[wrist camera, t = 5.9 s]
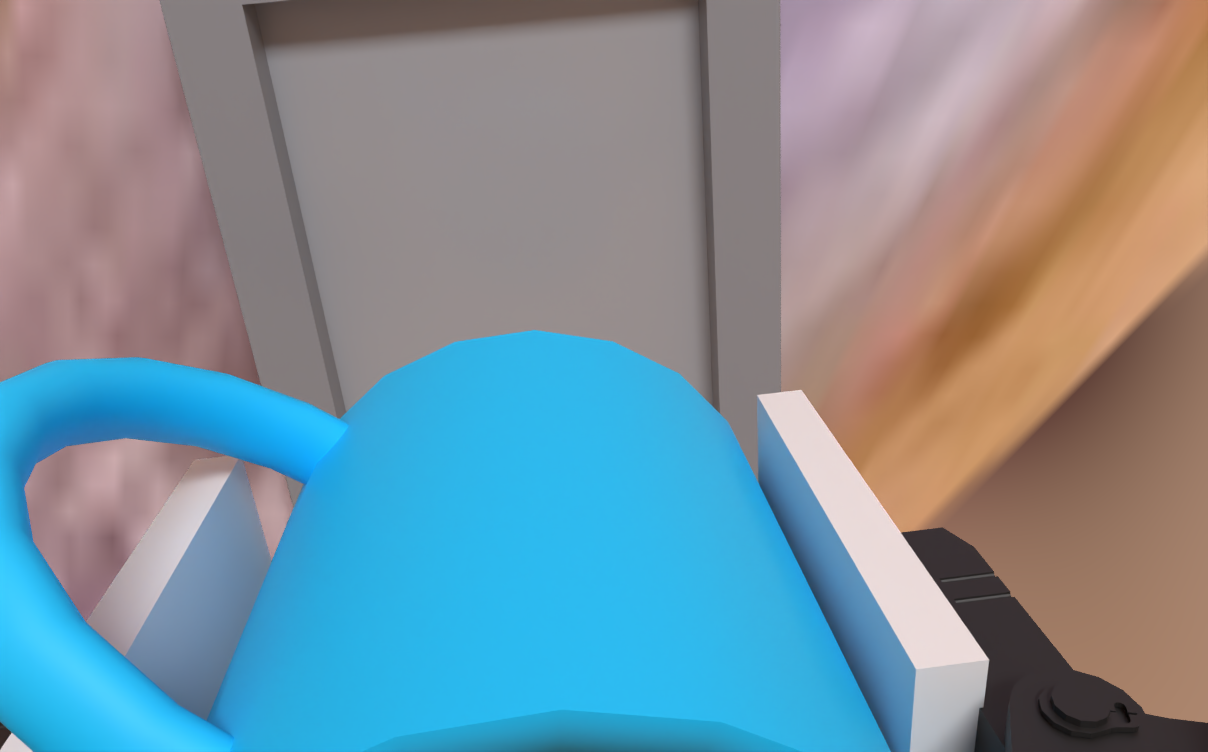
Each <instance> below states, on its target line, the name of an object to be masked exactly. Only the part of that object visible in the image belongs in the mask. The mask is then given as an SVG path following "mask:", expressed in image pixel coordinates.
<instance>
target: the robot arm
mask: <svg viewBox="0 0 1208 752" xmlns="http://www.w3.org/2000/svg"><path fill="white" fill-rule="evenodd" d="M757 430H758V483H759V485H760V487H761V489H762V491H763V493H764V495H765V497H766V499H767V501H768V504H769V506H770V508H771V510H772V512H773V514H774V516H775V518H776V520H777V522H778V524H779V526H780V528H781V530H782V532H783V534H784V536H785V538H786V540H787V542H788V544H789V546H790V548H791V550H792V552H793V554H794V556H795V558H796V560H797V562H798V564H799V566H800V568H801V570H802V572H803V574H804V576H805V578H806V580H807V583H808V585H809V587H810V589H811V591H812V593H813V595H814V597H815V599H816V601H817V603H818V605H819V607H820V609H821V611H822V613H823V615H824V617H825V619H826V621H827V623H828V625H829V627H830V629H831V631H832V633H833V635H834V637H835V639H836V641H837V643H838V645H839V647H840V649H841V651H842V653H843V655H844V657H845V659H846V662H847V664H848V666H849V668H850V670H851V672H852V674H853V676H854V678H855V680H856V682H857V684H858V686H859V688H860V690H861V692H862V694H863V696H864V698H865V700H866V702H867V704H868V706H869V708H870V710H871V712H872V714H873V716H874V718H875V720H876V722H877V724H878V726H879V728H880V730H881V732H882V734H883V736H884V739H885V741H886V743H887V745H888V747H889V749H890V751H891V752H1208V723H1203V722H1194V721H1186V720H1178V719H1169V718H1164V717H1159V716H1153V715H1149V714H1145V713H1144V711H1143V709H1142V707H1141V706H1139V705H1138V704H1137V703H1136V702H1135V701H1134V700H1133V699H1132V698H1131V697H1130V696H1129V695H1127V694H1126V693H1125V692H1124V691H1123V690H1121V689H1120V688H1118V687H1116V686H1114V685H1112V684H1110V683H1108V682H1107V681H1104V680H1103V679H1101V678H1099V677H1096V676H1092V675H1089V674H1085V673H1082V672H1078V671H1075V670H1073V669H1072V668H1071V667H1070V665H1069V664H1068V663H1067V662H1066V660H1065V659H1064V658H1063V657H1062V655H1061V654H1060V653H1059V652H1058V650H1057V649H1056V648H1055V647H1054V646H1053V644H1052V643H1051V642H1050V641H1049V639H1048V638H1047V637H1046V636H1045V634H1044V633H1043V632H1042V631H1041V629H1040V628H1039V627H1038V626H1037V624H1036V623H1035V622H1034V621H1033V619H1032V618H1031V617H1030V616H1029V615H1028V613H1027V612H1026V611H1025V610H1024V608H1023V607H1022V606H1021V605H1020V603H1019V602H1018V601H1017V600H1016V598H1015V597H1011V595H1010V591H1009V590H1008V588H1007V587H1006V586H1005V585H1004V584H1003V582H1002V581H1001V580H1000V579H999V577H995V576H994V571H993V570H992V569H991V568H990V566H989V565H988V564H987V563H986V562H985V560H984V559H983V558H982V556H981V555H980V554H979V553H978V551H977V550H976V549H975V548H974V547H973V546H972V545H970V544H968V543H967V542H965V541H963V540H962V539H960V538H959V537H957V536H955V535H954V534H952V533H950V532H949V531H947V530H946V529H944V528H935V529H927V530H919V531H911V532H903V533H901V532H900V531H899V530H898V528H897V527H896V525H895V524H894V522H893V521H892V519H891V518H890V517H889V515H888V514H887V512H886V511H885V509H884V508H883V507H882V505H881V504H880V502H879V501H878V499H877V498H876V496H875V495H874V494H873V492H872V491H871V489H870V488H869V486H868V485H867V484H866V482H865V481H864V479H863V478H862V476H861V475H860V473H859V472H858V471H857V469H856V468H855V466H854V465H853V463H852V462H851V461H850V459H849V458H848V456H847V455H846V453H845V452H844V450H843V449H842V448H841V446H840V445H839V443H838V442H837V440H836V439H835V438H834V436H833V435H832V433H831V432H830V430H829V429H828V427H827V426H826V425H825V423H824V422H823V420H822V419H821V417H820V416H819V415H818V413H817V412H816V410H815V409H814V407H813V406H812V404H811V403H810V402H809V400H808V399H807V397H806V396H805V394H804V393H803V392H802V390H796V391H787V392H779V393H770V394H761V395H757ZM271 562H272V561H271V557H270V554H269V550H268V547H267V543H266V540H265V536H264V533H263V529H262V526H261V522H260V519H259V515H258V512H257V508H256V505H255V501H254V498H253V494H252V491H251V487H250V484H249V480H248V477H247V473H246V470H245V466H244V463H243V460H241V459H237V458H234V457H231V456H225V457H216V458H207V459H199V460H194V461H193V462H192V464H191V465H190V467H189V468H188V470H187V471H186V473H185V474H184V476H183V477H182V479H181V480H180V482H179V483H178V485H177V486H176V488H175V489H174V491H173V492H172V494H171V495H170V497H169V498H168V500H167V501H166V503H165V504H164V506H163V507H162V509H161V510H160V512H159V513H158V515H157V516H156V518H155V519H154V521H153V522H152V524H151V525H150V527H149V528H148V530H147V531H146V533H145V534H144V536H143V537H142V539H141V540H140V542H139V543H138V545H137V546H136V548H135V549H134V551H133V552H132V554H131V555H130V557H129V558H128V560H127V561H126V563H125V564H124V566H123V567H122V569H121V570H120V572H119V573H118V575H117V576H116V578H115V579H114V581H113V582H112V583H111V585H110V586H109V588H108V589H107V591H106V592H105V594H104V595H103V597H102V598H101V600H100V601H99V603H98V604H97V606H96V607H95V609H94V610H93V612H92V613H91V615H90V616H89V618H88V619H87V621H86V623H87V624H89V625H90V626H91V627H92V628H93V629H94V630H95V631H96V632H98V633H99V634H100V635H101V636H102V637H103V638H104V639H105V640H107V641H108V642H109V643H110V644H111V645H112V646H113V647H114V648H116V649H117V650H118V651H119V652H120V653H121V654H122V655H123V656H125V657H126V658H127V659H128V660H129V661H130V662H131V663H132V664H133V665H135V666H136V667H137V668H138V669H139V670H140V671H141V672H142V673H144V674H145V675H146V676H147V677H148V678H149V679H150V680H151V681H153V682H154V683H155V684H156V685H157V686H158V687H159V688H160V689H162V690H163V691H164V692H165V693H166V694H167V695H168V696H169V697H171V698H172V699H173V700H174V701H175V702H176V703H177V704H178V705H180V706H182V707H183V708H185V709H187V710H189V711H190V712H192V713H194V714H196V715H197V716H199V717H201V718H203V719H204V720H207V718H208V716H209V713H210V711H211V708H212V706H213V703H214V701H215V698H216V696H217V694H218V691H219V689H220V686H221V684H222V681H223V679H224V677H225V674H226V672H227V669H228V667H229V664H230V662H231V659H232V657H233V655H234V652H235V650H236V647H237V645H238V642H239V640H240V638H241V635H242V633H243V630H244V628H245V625H246V623H247V620H248V618H249V616H250V613H251V611H252V608H253V606H254V603H255V601H256V598H257V596H258V594H259V591H260V589H261V586H262V584H263V581H264V579H265V577H266V574H267V572H268V569H269V567H270V564H271ZM0 752H33V751H32V750H31V749H30V748H28V747H27V746H26V745H25V744H24V743H23V742H22V741H21V740H20V739H18V738H17V737H16V736H15V735H14V734H13V733H12V732H11V731H10V730H8V729H7V728H6V727H5V726H4V725H3V724H2V723H1V722H0Z"/></svg>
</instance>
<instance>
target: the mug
mask: <svg viewBox="0 0 1208 752" xmlns="http://www.w3.org/2000/svg"><path fill="white" fill-rule="evenodd" d="M123 438H129V439H138V440H147V441H156V442H164V443H173V444H182V445H191V446H197V447H201V448H204V449H207V450H211V451H214V452H217V453H221V454H224V455H227V456H231V457H234V458H237V459H241V460H244V461H247V462H251V463H254V464H257V465H261V466H264V467H267V468H271V469H273V470H275V471H277V472H279V473H281V474H283V475H286V476H288V477H290V478H292V479H294V480H296V481H298V482H300V483H303V486H302V489H301V491H300V494H299V496H298V498H297V501H296V503H295V506H294V508H293V511H292V513H291V516H290V518H289V520H288V523H287V525H286V528H285V530H284V533H283V535H282V537H281V540H280V542H279V545H278V547H277V550H276V552H275V555H274V557H273V559H272V562H271V564H270V567H269V569H268V572H267V574H266V577H265V579H264V581H263V584H262V586H261V589H260V591H259V594H258V596H257V598H256V601H255V603H254V606H253V608H252V611H251V613H250V616H249V618H248V620H247V623H246V625H245V628H244V630H243V633H242V635H241V638H240V640H239V642H238V645H237V647H236V650H235V652H234V655H233V657H232V659H231V662H230V664H229V667H228V669H227V672H226V674H225V677H224V679H223V681H222V684H221V686H220V689H219V691H218V694H217V696H216V698H215V701H214V703H213V706H212V708H211V711H210V713H209V716H208V718H207V720H204V719H203V718H201V717H199V716H197V715H196V714H194V713H192V712H190V711H189V710H187V709H185V708H183V707H182V706H180V705H178V704H177V703H176V702H175V701H174V700H173V699H172V698H171V697H169V696H168V695H167V694H166V693H165V692H164V691H163V690H162V689H160V688H159V687H158V686H157V685H156V684H155V683H154V682H153V681H151V680H150V679H149V678H148V677H147V676H146V675H145V674H144V673H142V672H141V671H140V670H139V669H138V668H137V667H136V666H135V665H133V664H132V663H131V662H130V661H129V660H128V659H127V658H126V657H125V656H123V655H122V654H121V653H120V652H119V651H118V650H117V649H116V648H114V647H113V646H112V645H111V644H110V643H109V642H108V641H107V640H105V639H104V638H103V637H102V636H101V635H100V634H99V633H98V632H96V631H95V630H94V629H93V628H92V627H91V626H90V625H89V624H87V623H86V622H85V620H84V619H83V617H82V616H81V614H80V613H79V611H78V609H77V608H76V606H75V605H74V603H73V602H72V600H71V599H70V597H69V596H68V594H67V593H66V591H65V590H64V588H63V587H62V585H61V583H60V582H59V580H58V579H57V577H56V576H55V574H54V573H53V571H52V570H51V568H50V567H49V565H48V564H47V562H46V560H45V559H44V557H43V556H42V554H41V553H40V551H39V550H38V548H37V547H36V545H35V544H34V542H33V537H32V531H31V525H30V519H29V514H28V508H27V502H26V496H25V491H24V487H25V485H26V483H27V481H28V479H29V476H30V474H31V472H32V470H33V468H34V466H35V464H36V463H38V462H40V461H41V460H43V459H45V458H47V457H48V456H50V455H52V454H54V453H55V452H57V451H59V450H61V449H62V448H64V447H66V446H72V445H79V444H86V443H94V442H101V441H109V440H116V439H123ZM0 722H1V723H2V724H3V725H4V726H5V727H6V728H7V729H8V730H10V731H11V732H12V733H13V734H14V735H15V736H16V737H17V738H18V739H20V740H21V741H22V742H23V743H24V744H25V745H26V746H27V747H28V748H30V749H31V750H32V751H33V752H891V751H890V749H889V747H888V745H887V743H886V741H885V739H884V736H883V734H882V732H881V730H880V728H879V726H878V724H877V722H876V720H875V718H874V716H873V714H872V712H871V710H870V708H869V706H868V704H867V702H866V700H865V698H864V696H863V694H862V692H861V690H860V688H859V686H858V684H857V682H856V680H855V678H854V676H853V674H852V672H851V670H850V668H849V666H848V664H847V662H846V659H845V657H844V655H843V653H842V651H841V649H840V647H839V645H838V643H837V641H836V639H835V637H834V635H833V633H832V631H831V629H830V627H829V625H828V623H827V621H826V619H825V617H824V615H823V613H822V611H821V609H820V607H819V605H818V603H817V601H816V599H815V597H814V595H813V593H812V591H811V589H810V587H809V585H808V583H807V580H806V578H805V576H804V574H803V572H802V570H801V568H800V566H799V564H798V562H797V560H796V558H795V556H794V554H793V552H792V550H791V548H790V546H789V544H788V542H787V540H786V538H785V536H784V534H783V532H782V530H781V528H780V526H779V524H778V522H777V520H776V518H775V516H774V514H773V512H772V510H771V508H770V506H769V504H768V501H767V499H766V497H765V495H764V493H763V491H762V489H761V487H760V485H759V483H758V481H757V479H756V477H755V475H754V473H753V471H752V469H751V467H750V465H749V463H748V461H747V459H746V457H745V455H744V453H743V451H742V449H741V447H740V445H739V443H738V441H737V439H736V437H735V435H734V433H733V431H732V429H731V427H730V425H729V422H728V421H727V420H726V419H725V418H724V417H723V416H722V415H721V414H720V413H719V412H718V411H717V410H716V409H715V408H714V407H713V406H712V405H711V404H710V403H709V402H708V401H707V400H706V399H705V398H704V397H703V396H702V395H701V394H700V393H699V392H698V391H697V390H696V389H695V388H694V387H693V386H692V385H691V384H689V383H688V382H687V381H686V380H685V379H684V378H683V377H682V376H681V375H680V374H679V373H677V372H675V371H673V370H671V369H669V368H667V367H665V366H663V365H661V364H658V363H656V362H654V361H652V360H650V359H648V358H646V357H644V356H642V355H640V354H638V353H636V352H634V351H632V350H630V349H628V348H625V347H623V346H621V345H619V344H617V343H615V342H613V341H607V340H600V339H593V338H586V337H579V336H573V335H566V334H559V333H552V332H545V331H539V330H531V331H524V332H517V333H511V334H504V335H497V336H491V337H484V338H477V339H470V340H464V341H457V342H454V343H452V344H449V345H447V346H445V347H443V348H441V349H439V350H437V351H435V352H433V353H431V354H429V355H426V356H424V357H422V358H420V359H418V360H416V361H414V362H412V363H410V364H408V365H406V366H403V367H401V368H399V369H397V370H395V371H393V372H391V373H389V374H387V375H385V376H384V377H382V378H381V379H380V380H379V381H378V382H377V383H376V384H375V385H374V386H373V387H372V388H371V389H370V390H369V391H368V392H367V393H366V394H365V395H364V396H363V397H362V398H361V399H360V400H359V401H358V402H357V403H356V404H354V405H353V406H352V407H351V408H350V409H349V410H348V411H347V412H346V413H345V414H344V415H343V416H342V417H341V418H340V419H339V418H337V417H335V416H333V415H331V414H329V413H327V412H325V411H323V410H321V409H319V408H317V407H315V406H313V405H311V404H309V403H307V402H304V401H301V400H299V399H296V398H293V397H290V396H288V395H285V394H282V393H279V392H276V391H274V390H271V389H268V388H265V387H263V386H260V385H257V384H254V383H251V382H249V381H246V380H243V379H240V378H238V377H235V376H232V375H229V374H226V373H220V372H215V371H210V370H204V369H199V368H194V367H189V366H183V365H178V364H173V363H168V362H162V361H157V360H152V359H147V358H139V357H131V358H102V359H74V360H56V361H52V362H48V363H45V364H43V365H40V366H38V367H35V368H33V369H31V370H28V371H26V372H24V373H21V374H19V375H16V376H14V377H12V378H9V379H7V380H5V381H2V382H0Z"/></svg>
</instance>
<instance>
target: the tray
mask: <svg viewBox="0 0 1208 752" xmlns="http://www.w3.org/2000/svg"><path fill="white" fill-rule="evenodd" d="M160 4H161V8H162V12H163V15H164V19H165V23H166V27H167V31H168V34H169V38H170V42H171V46H172V50H173V53H174V57H175V61H176V65H177V68H178V72H179V76H180V80H181V84H182V87H183V91H184V95H185V99H186V103H187V106H188V110H189V114H190V118H191V121H192V125H193V129H194V133H195V137H196V140H197V144H198V148H199V152H200V156H201V159H202V163H203V167H204V171H205V174H206V178H207V182H208V186H209V190H210V193H211V197H212V201H213V205H214V208H215V212H216V216H217V220H218V224H219V227H220V231H221V235H222V239H223V243H224V246H225V250H226V254H227V258H228V261H229V265H230V269H231V273H232V277H233V280H234V284H235V288H236V292H237V296H238V299H239V303H240V307H241V311H242V314H243V318H244V322H245V326H246V330H247V333H248V337H249V341H250V345H251V349H252V352H253V356H254V360H255V364H256V367H257V371H258V375H259V379H260V383H261V386H263V387H265V388H268V389H271V390H274V391H276V392H279V393H282V394H285V395H288V396H290V397H293V398H296V399H299V400H301V401H304V402H307V403H309V404H311V405H313V406H315V407H317V408H319V409H321V410H323V411H325V412H327V413H329V414H331V415H333V416H335V417H337V418H339V419H340V418H341V417H342V416H343V415H344V414H345V413H346V412H347V411H348V410H349V409H350V408H351V407H352V406H353V405H354V404H356V403H357V402H358V401H359V400H360V399H361V398H362V397H363V396H364V395H365V394H366V393H367V392H368V391H369V390H370V389H371V388H372V387H373V386H374V385H375V384H376V383H377V382H378V381H379V380H380V379H381V378H382V377H384V376H385V375H387V374H389V373H391V372H393V371H395V370H397V369H399V368H401V367H403V366H406V365H408V364H410V363H412V362H414V361H416V360H418V359H420V358H422V357H424V356H426V355H429V354H431V353H433V352H435V351H437V350H439V349H441V348H443V347H445V346H447V345H449V344H452V343H454V342H457V341H464V340H470V339H477V338H484V337H491V336H497V335H504V334H511V333H517V332H524V331H531V330H539V331H545V332H552V333H559V334H566V335H573V336H579V337H586V338H593V339H600V340H607V341H613V342H615V343H617V344H619V345H621V346H623V347H625V348H628V349H630V350H632V351H634V352H636V353H638V354H640V355H642V356H644V357H646V358H648V359H650V360H652V361H654V362H656V363H658V364H661V365H663V366H665V367H667V368H669V369H671V370H673V371H675V372H677V373H679V374H680V375H681V376H682V377H683V378H684V379H685V380H686V381H687V382H688V383H689V384H691V385H692V386H693V387H694V388H695V389H696V390H697V391H698V392H699V393H700V394H701V395H702V396H703V397H704V398H705V399H706V400H707V401H708V402H709V403H710V404H711V405H712V406H713V407H714V408H715V409H716V410H717V411H718V412H719V413H720V414H721V415H722V416H723V417H724V418H725V419H726V420H727V421H728V422H729V425H730V427H731V429H732V431H733V433H734V435H735V437H736V439H737V441H738V443H739V445H740V447H741V449H742V451H743V453H744V455H745V457H746V459H747V461H748V463H749V465H750V467H751V469H752V471H753V473H754V475H755V477H756V479H757V481H758V430H757V395H761V394H770V393H779V392H781V196H780V0H160ZM285 477H286V481H287V485H288V489H289V492H290V496H291V500H292V504H293V508H294V506H295V503H296V501H297V498H298V496H299V494H300V491H301V489H302V486H303V483H300V482H298V481H296V480H294V479H292V478H290V477H288V476H286V475H285Z"/></svg>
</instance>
